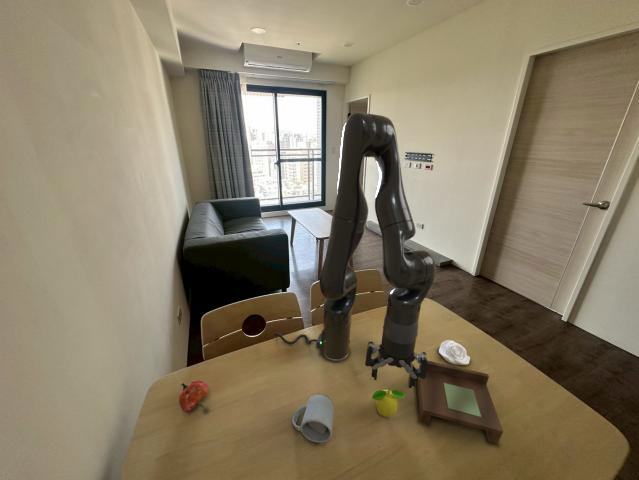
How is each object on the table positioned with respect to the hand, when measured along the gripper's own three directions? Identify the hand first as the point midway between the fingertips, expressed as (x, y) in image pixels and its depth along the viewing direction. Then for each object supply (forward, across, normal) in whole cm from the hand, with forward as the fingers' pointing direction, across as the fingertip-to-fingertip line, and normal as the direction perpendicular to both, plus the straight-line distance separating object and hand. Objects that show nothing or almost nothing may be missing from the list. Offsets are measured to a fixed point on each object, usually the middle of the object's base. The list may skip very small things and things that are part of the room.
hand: (392, 381), depth 64 cm
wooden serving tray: (+12, -18, -7) cm, 23 cm away
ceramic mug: (+12, +18, +9) cm, 24 cm away
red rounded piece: (+12, +52, +13) cm, 54 cm away
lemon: (+12, 0, 0) cm, 12 cm away
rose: (+12, -22, -27) cm, 37 cm away
